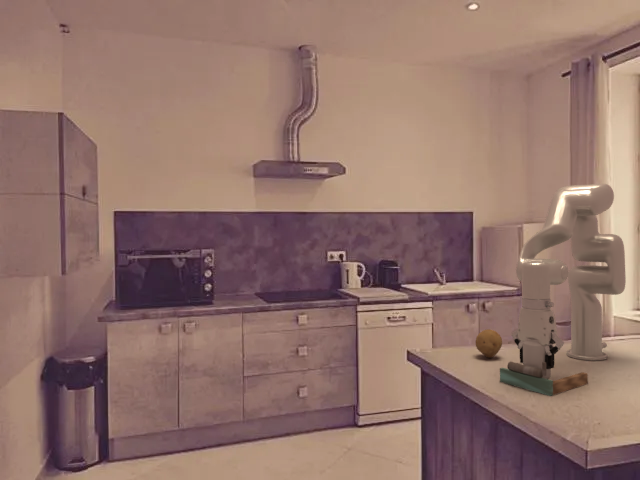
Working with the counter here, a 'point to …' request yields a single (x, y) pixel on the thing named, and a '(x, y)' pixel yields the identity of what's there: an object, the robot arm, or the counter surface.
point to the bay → (539, 379)
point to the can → (534, 355)
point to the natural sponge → (488, 342)
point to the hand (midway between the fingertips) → (536, 364)
